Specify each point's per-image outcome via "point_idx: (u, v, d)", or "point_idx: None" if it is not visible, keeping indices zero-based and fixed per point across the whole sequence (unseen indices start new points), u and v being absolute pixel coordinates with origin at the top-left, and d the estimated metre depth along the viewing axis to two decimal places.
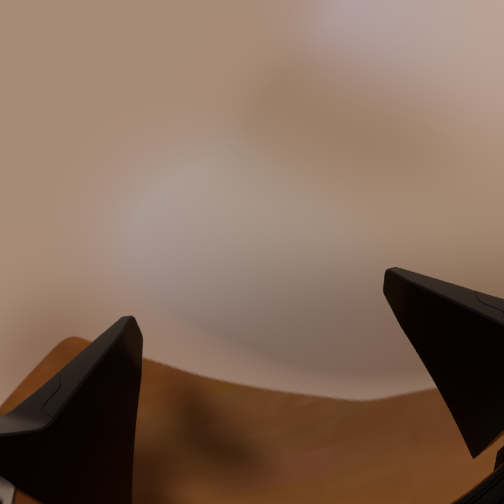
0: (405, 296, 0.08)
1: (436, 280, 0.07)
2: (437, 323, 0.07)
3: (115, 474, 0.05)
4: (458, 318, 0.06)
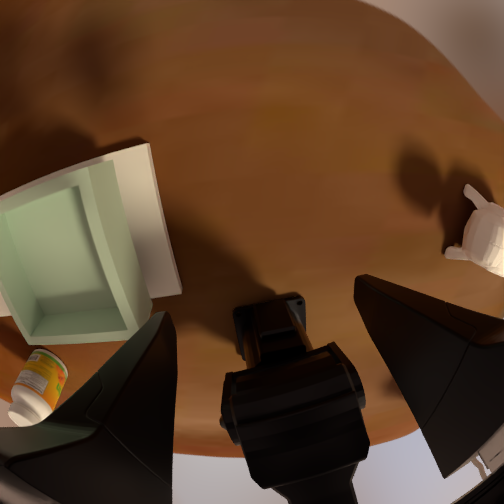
0: (373, 305, 0.08)
1: (406, 289, 0.07)
2: (405, 335, 0.07)
3: (156, 478, 0.05)
4: (425, 332, 0.06)
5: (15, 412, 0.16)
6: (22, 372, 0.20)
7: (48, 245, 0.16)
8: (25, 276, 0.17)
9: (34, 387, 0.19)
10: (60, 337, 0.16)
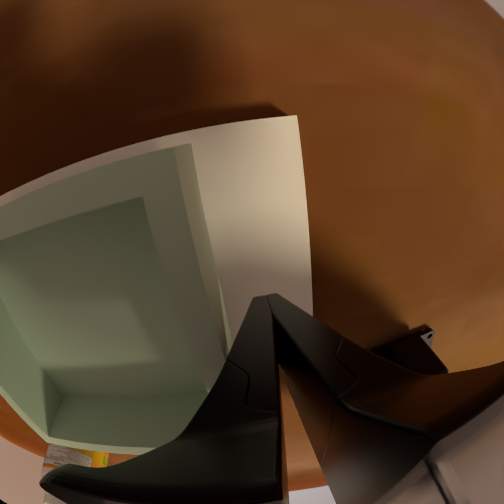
0: None
1: (305, 315, 0.07)
2: None
3: None
4: (303, 371, 0.05)
5: None
6: (52, 447, 0.13)
7: (59, 303, 0.09)
8: (24, 343, 0.10)
9: None
10: (101, 446, 0.09)
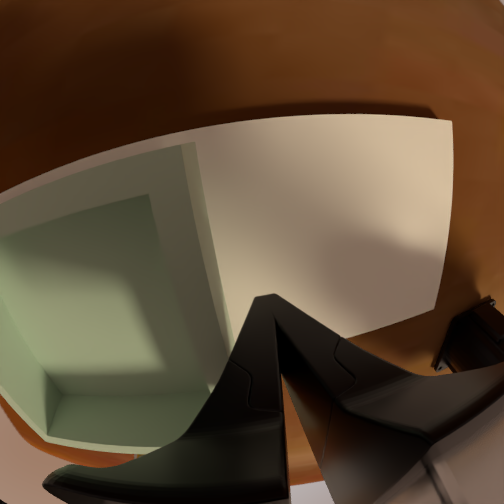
0: None
1: (303, 316, 0.07)
2: None
3: None
4: (301, 372, 0.05)
5: None
6: None
7: (59, 301, 0.09)
8: (23, 342, 0.10)
9: None
10: (101, 445, 0.09)
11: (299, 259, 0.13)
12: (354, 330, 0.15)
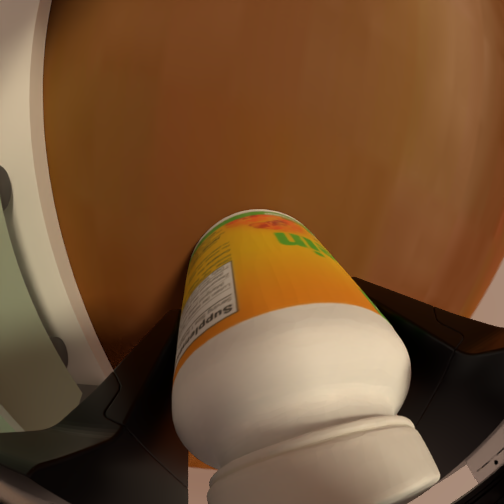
0: None
1: (393, 293, 0.07)
2: None
3: (173, 478, 0.05)
4: (410, 338, 0.06)
5: None
6: None
7: None
8: None
9: (192, 335, 0.05)
10: None
11: None
12: None
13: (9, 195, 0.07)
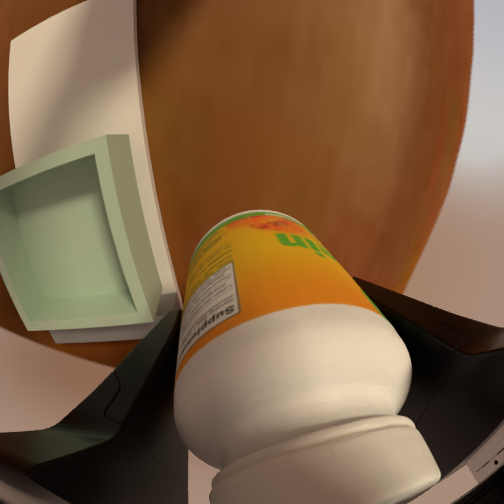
0: None
1: (393, 293, 0.07)
2: None
3: (173, 478, 0.05)
4: (410, 338, 0.06)
5: None
6: None
7: (62, 251, 0.16)
8: (100, 295, 0.18)
9: (194, 336, 0.05)
10: (123, 261, 0.14)
11: (67, 108, 0.15)
12: (128, 49, 0.14)
13: None
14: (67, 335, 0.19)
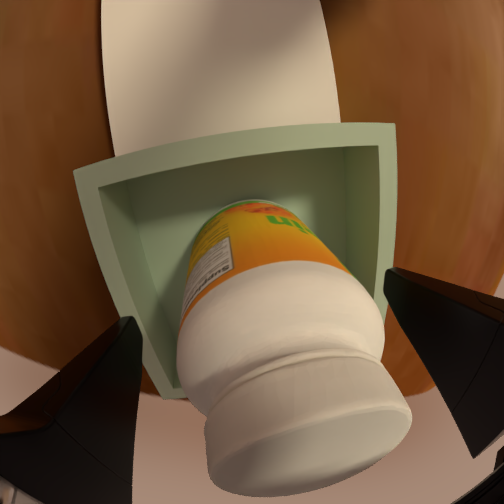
0: (405, 296, 0.08)
1: (436, 280, 0.07)
2: (437, 323, 0.07)
3: (115, 474, 0.05)
4: (458, 318, 0.06)
5: (211, 471, 0.04)
6: None
7: None
8: None
9: (196, 292, 0.06)
10: (377, 292, 0.11)
11: (225, 68, 0.12)
12: (315, 16, 0.11)
13: None
14: None
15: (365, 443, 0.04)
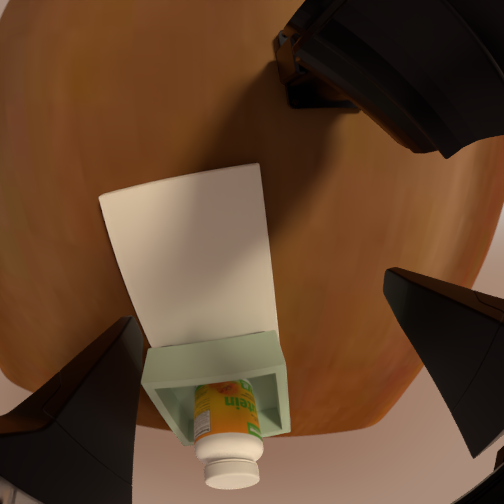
0: (405, 296, 0.08)
1: (436, 280, 0.07)
2: (437, 323, 0.07)
3: (115, 474, 0.05)
4: (458, 318, 0.06)
5: (205, 481, 0.14)
6: None
7: None
8: None
9: (199, 433, 0.17)
10: (282, 412, 0.22)
11: (204, 294, 0.22)
12: (263, 248, 0.22)
13: None
14: None
15: (243, 479, 0.15)
